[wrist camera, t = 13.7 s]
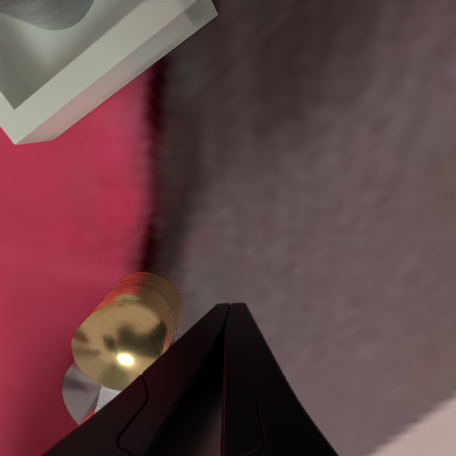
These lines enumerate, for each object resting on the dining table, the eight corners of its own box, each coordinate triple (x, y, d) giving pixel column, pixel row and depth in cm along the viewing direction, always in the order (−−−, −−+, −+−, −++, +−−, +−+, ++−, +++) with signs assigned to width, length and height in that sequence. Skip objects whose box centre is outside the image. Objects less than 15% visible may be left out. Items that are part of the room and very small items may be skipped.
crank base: (222, 417, 16) (220, 432, 16) (123, 451, 18) (116, 465, 18) (146, 318, 15) (140, 329, 14) (45, 367, 17) (35, 378, 16)
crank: (149, 435, 16) (103, 563, 12) (92, 415, 16) (23, 535, 12) (215, 256, 12) (185, 343, 8) (140, 229, 12) (63, 299, 8)
